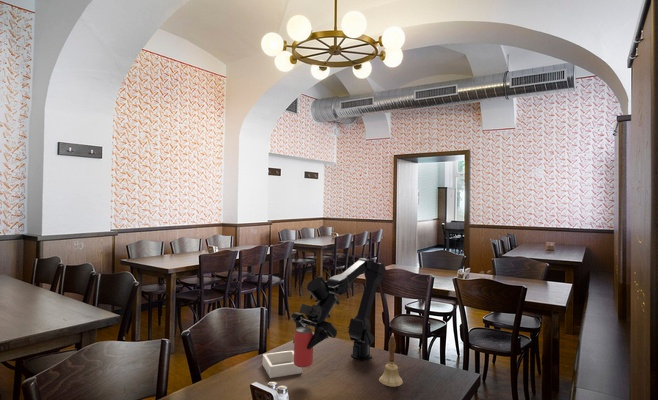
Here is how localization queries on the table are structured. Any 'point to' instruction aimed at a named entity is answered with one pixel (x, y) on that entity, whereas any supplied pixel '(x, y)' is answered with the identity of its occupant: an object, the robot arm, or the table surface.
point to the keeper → (280, 368)
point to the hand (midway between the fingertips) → (300, 346)
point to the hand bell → (391, 368)
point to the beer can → (303, 347)
